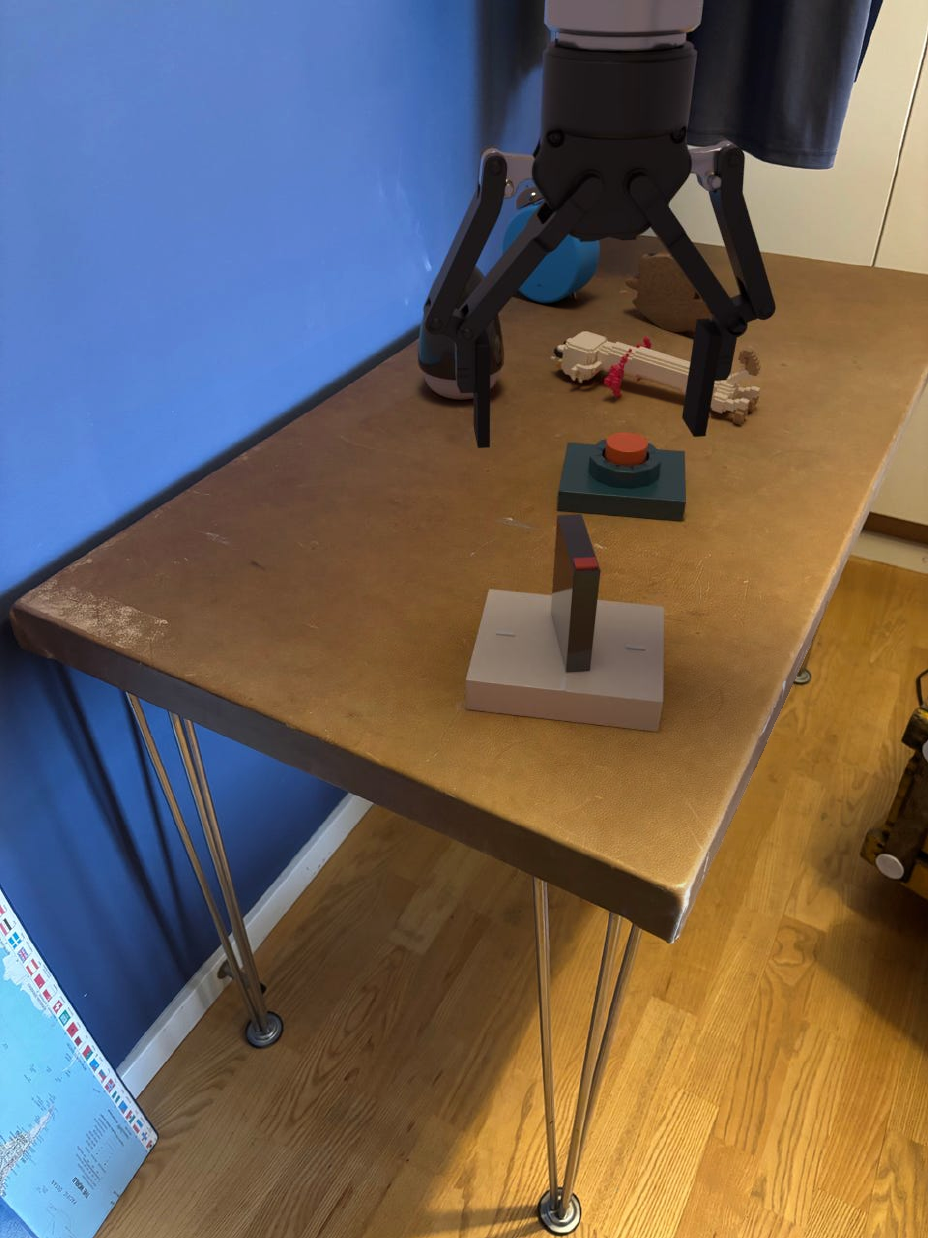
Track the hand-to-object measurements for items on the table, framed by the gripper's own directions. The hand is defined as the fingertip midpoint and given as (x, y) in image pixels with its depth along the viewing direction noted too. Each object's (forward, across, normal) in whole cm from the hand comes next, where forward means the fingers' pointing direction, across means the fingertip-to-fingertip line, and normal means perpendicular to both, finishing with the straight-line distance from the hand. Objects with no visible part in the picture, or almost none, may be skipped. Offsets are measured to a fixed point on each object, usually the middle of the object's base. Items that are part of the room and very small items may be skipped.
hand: (588, 432), depth 58 cm
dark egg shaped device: (+20, -4, +51) cm, 55 cm away
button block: (+20, +10, +26) cm, 35 cm away
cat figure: (+20, +18, +48) cm, 55 cm away
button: (+17, +10, +26) cm, 33 cm away
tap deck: (+20, 0, 0) cm, 20 cm away
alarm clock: (+20, +11, +81) cm, 84 cm away
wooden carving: (+20, +26, +68) cm, 75 cm away
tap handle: (+17, 0, 0) cm, 17 cm away
